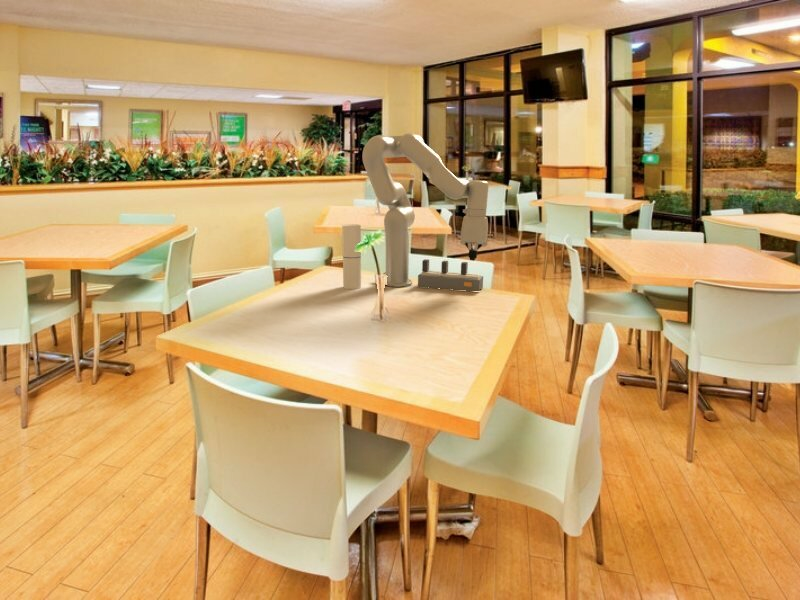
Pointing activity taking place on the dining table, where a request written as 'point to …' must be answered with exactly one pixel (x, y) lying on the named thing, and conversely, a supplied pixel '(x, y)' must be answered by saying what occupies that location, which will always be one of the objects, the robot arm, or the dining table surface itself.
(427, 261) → the peg
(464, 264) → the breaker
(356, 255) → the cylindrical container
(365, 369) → the dining table surface
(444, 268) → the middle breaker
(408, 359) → the dining table surface
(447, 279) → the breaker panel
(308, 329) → the dining table surface
